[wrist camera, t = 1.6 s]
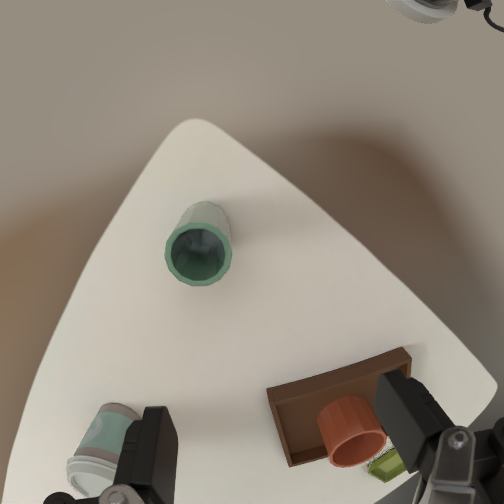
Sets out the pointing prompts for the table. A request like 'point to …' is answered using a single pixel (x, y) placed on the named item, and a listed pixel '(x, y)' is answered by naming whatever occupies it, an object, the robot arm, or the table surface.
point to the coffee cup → (100, 450)
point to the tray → (326, 401)
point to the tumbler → (350, 431)
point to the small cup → (200, 245)
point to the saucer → (387, 466)
